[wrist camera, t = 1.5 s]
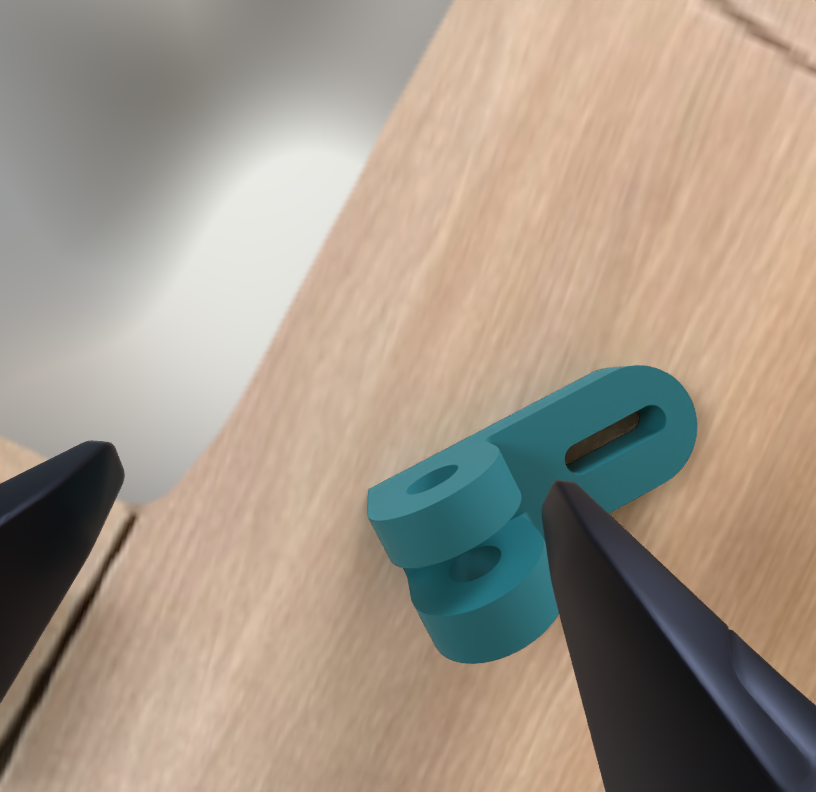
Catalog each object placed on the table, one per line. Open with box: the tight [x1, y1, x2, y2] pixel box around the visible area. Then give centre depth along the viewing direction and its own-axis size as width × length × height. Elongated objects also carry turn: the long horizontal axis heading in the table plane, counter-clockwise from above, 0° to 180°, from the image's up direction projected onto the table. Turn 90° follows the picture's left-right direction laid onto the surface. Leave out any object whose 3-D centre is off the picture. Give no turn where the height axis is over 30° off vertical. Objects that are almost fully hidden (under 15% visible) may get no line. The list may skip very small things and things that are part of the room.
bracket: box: [367, 365, 697, 664], centre depth 20 cm, size 18×7×8 cm, turn 117°
